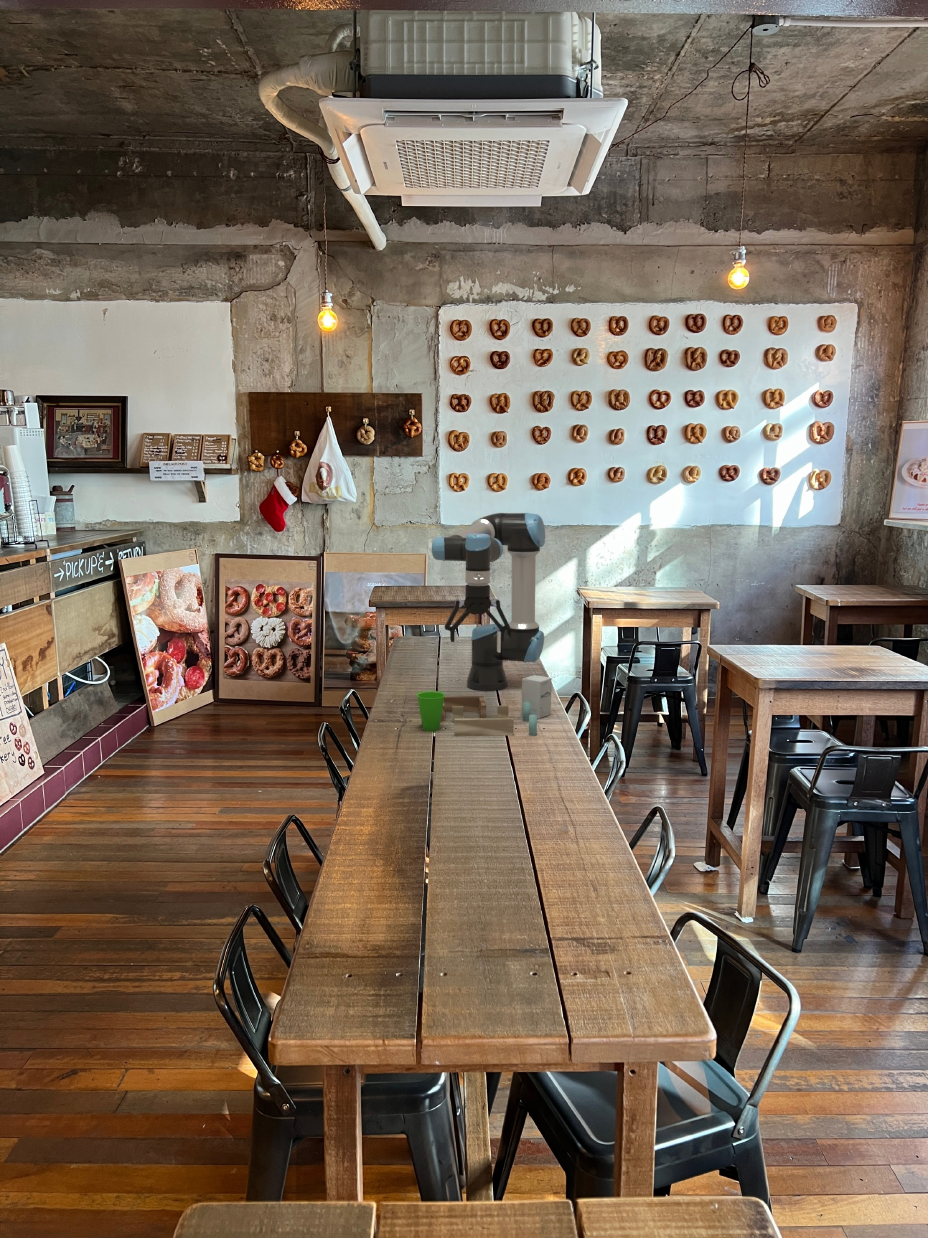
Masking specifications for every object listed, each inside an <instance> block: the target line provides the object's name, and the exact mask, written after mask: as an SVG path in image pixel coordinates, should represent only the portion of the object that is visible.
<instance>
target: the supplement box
mask: <svg viewBox="0 0 928 1238" xmlns="http://www.w3.org/2000/svg"><path fill="white" fill-rule="evenodd" d="M523 702H530V703H531V708H530V715H532V714H534V715H537V720H540V719H542V718H543V717H547V716H550V715H551V714H552V677H548V676H543V675H535V674H534V675H530V676H527V677H524V678H521V705H520V706H521V707H520V709H521V710H520V713H521V715H520V716H522V717H523Z"/></svg>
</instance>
